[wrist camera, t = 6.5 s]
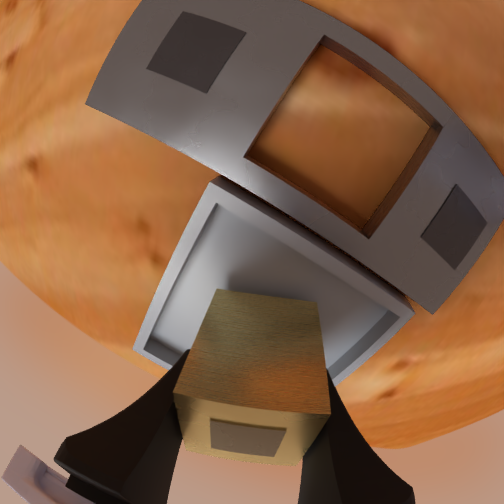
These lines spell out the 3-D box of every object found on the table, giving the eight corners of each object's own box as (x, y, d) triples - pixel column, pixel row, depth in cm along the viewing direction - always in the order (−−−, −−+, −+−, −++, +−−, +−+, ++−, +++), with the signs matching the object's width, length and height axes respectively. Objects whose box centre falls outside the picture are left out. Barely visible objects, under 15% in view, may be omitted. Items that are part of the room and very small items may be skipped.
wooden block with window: (316, 302, 12) (331, 415, 6) (297, 369, 14) (295, 467, 8) (216, 288, 12) (172, 393, 7) (215, 357, 14) (185, 451, 9)
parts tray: (405, 296, 13) (415, 313, 11) (287, 404, 17) (286, 420, 16) (218, 175, 11) (209, 181, 10) (142, 334, 16) (132, 349, 15)
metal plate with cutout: (502, 191, 9) (516, 196, 8) (424, 302, 13) (433, 315, 11) (179, -25, 7) (170, -36, 6) (99, 104, 10) (84, 104, 9)
